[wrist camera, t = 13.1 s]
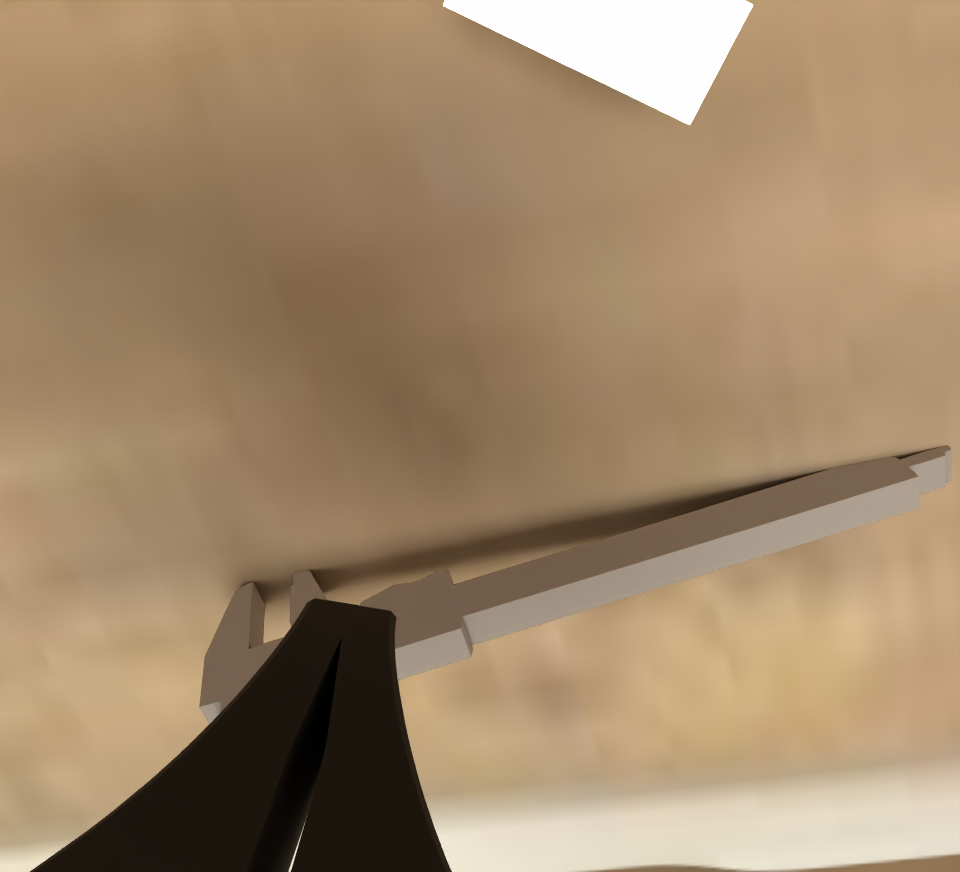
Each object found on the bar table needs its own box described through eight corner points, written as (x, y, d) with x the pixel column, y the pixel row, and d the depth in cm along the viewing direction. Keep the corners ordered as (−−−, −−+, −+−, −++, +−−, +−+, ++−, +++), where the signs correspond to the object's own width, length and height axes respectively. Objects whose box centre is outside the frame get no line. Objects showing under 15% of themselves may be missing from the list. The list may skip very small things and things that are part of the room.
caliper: (253, 604, 26) (181, 773, 20) (240, 577, 26) (161, 743, 20) (944, 471, 23) (1084, 630, 17) (944, 437, 22) (1088, 590, 17)
